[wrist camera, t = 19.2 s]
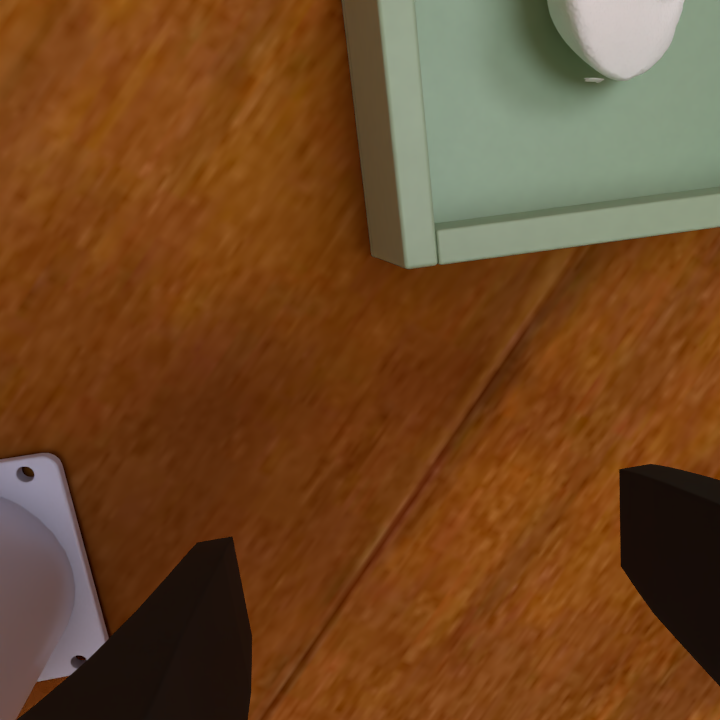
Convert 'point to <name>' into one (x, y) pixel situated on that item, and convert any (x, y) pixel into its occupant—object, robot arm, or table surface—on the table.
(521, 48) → the bin
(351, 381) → the table surface
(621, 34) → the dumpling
